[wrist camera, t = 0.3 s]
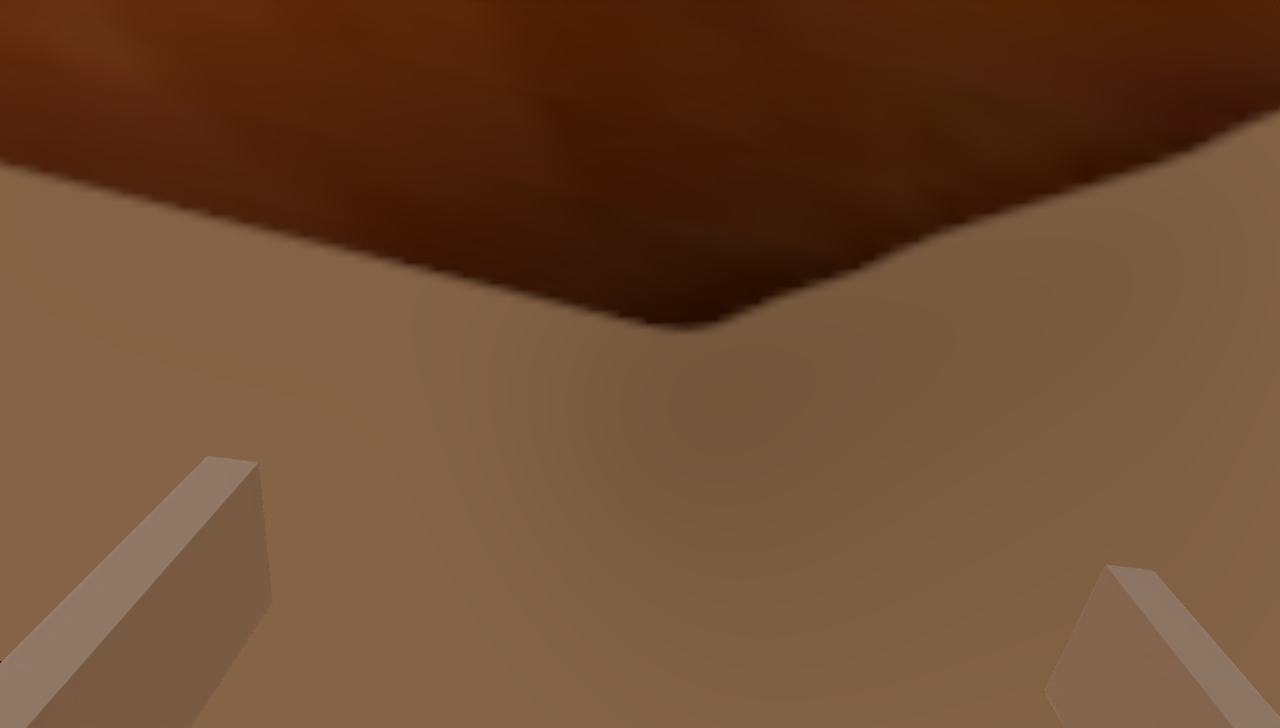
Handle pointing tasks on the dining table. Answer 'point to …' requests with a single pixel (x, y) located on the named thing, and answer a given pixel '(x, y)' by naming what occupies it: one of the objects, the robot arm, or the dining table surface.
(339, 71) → the dining table surface
